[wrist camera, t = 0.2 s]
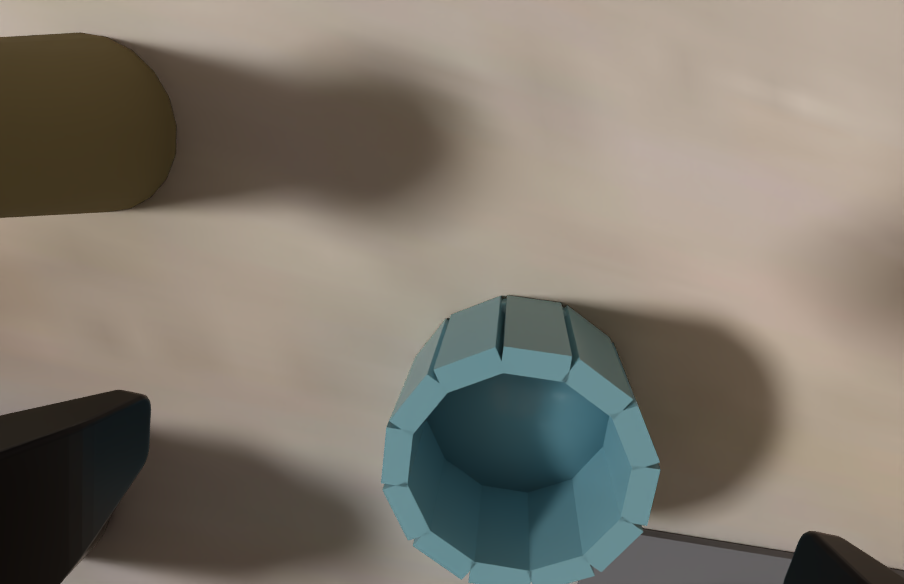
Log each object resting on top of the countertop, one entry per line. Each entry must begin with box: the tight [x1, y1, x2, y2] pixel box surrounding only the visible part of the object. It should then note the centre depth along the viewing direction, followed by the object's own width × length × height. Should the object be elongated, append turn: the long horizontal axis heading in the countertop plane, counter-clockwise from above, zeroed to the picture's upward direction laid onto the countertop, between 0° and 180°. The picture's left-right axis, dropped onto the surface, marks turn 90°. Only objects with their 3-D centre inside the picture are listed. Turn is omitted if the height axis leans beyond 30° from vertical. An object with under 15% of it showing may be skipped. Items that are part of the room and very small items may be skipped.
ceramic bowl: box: [381, 295, 660, 584], centre depth 22 cm, size 8×8×5 cm
